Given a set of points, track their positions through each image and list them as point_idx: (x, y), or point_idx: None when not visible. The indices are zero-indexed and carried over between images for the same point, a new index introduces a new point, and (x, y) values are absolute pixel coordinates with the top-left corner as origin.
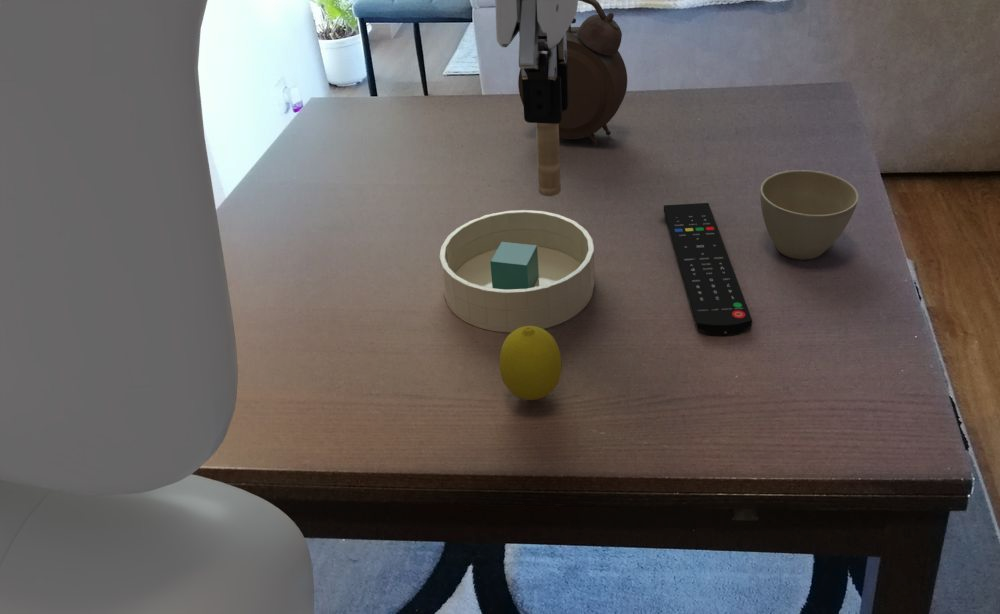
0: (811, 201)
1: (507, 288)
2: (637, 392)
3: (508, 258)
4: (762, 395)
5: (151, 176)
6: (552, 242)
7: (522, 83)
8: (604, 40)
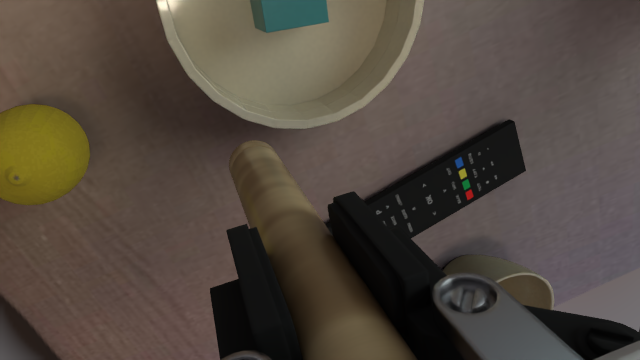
0: (519, 291)
1: None
2: (137, 239)
3: None
4: (200, 339)
5: None
6: (390, 7)
7: (249, 313)
8: None
